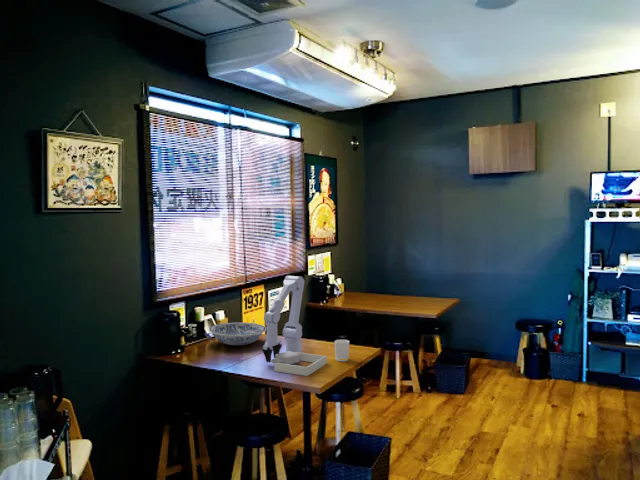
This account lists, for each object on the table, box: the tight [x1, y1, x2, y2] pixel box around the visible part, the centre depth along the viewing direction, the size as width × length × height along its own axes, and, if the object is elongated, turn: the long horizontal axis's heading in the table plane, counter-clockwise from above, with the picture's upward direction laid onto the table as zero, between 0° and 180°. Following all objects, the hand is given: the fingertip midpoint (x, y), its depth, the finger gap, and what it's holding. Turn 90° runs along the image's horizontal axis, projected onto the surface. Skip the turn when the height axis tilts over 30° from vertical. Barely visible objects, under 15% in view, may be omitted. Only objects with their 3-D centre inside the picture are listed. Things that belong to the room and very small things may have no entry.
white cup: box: [334, 339, 350, 362], centre depth 260 cm, size 8×8×10 cm
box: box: [273, 352, 328, 377], centre depth 247 cm, size 22×18×4 cm
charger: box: [269, 351, 300, 365], centre depth 253 cm, size 5×9×15 cm
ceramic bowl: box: [208, 321, 267, 346], centre depth 294 cm, size 34×34×10 cm
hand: (272, 360), depth 255 cm, fingers open, 7 cm apart
